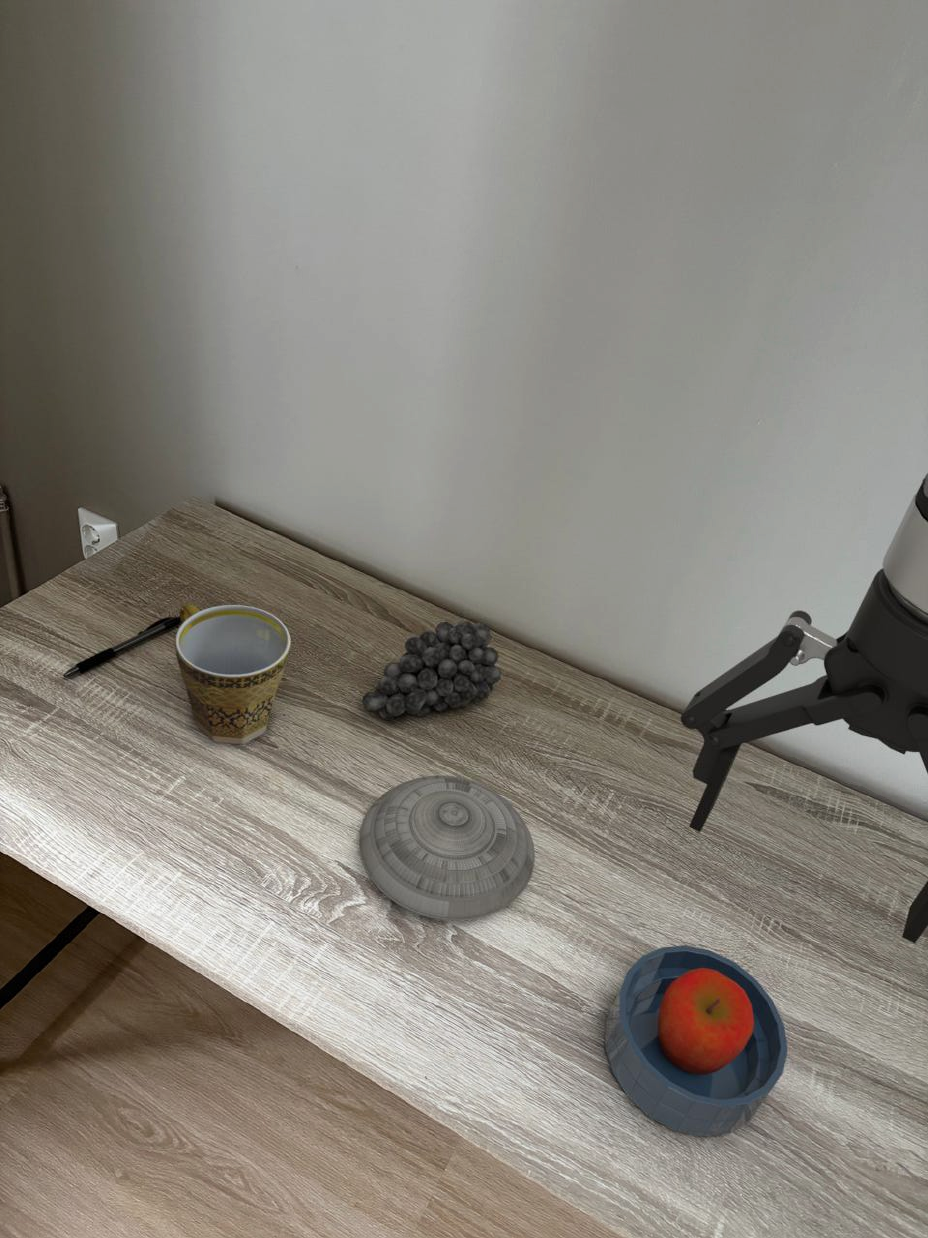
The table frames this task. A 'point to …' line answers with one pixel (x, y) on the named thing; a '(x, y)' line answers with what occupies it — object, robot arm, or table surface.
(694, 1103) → the bowl
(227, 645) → the ceramic cup
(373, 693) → the fruit
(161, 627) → the pen
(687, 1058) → the apple
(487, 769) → the table surface
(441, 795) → the flying saucer
